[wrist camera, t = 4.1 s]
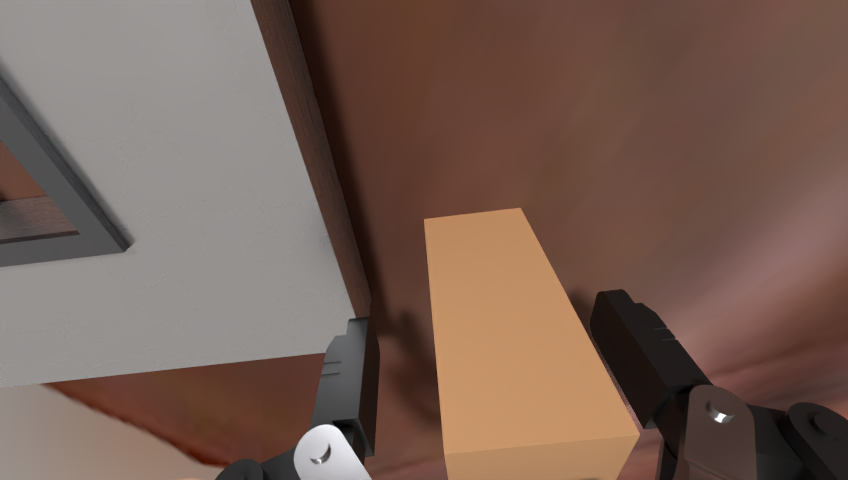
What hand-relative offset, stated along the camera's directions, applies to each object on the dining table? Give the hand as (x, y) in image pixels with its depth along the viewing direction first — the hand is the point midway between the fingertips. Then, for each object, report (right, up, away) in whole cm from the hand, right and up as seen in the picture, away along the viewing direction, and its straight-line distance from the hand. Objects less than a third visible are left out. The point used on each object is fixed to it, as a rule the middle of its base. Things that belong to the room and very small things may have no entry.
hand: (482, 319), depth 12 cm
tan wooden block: (0, +2, +3) cm, 4 cm away
